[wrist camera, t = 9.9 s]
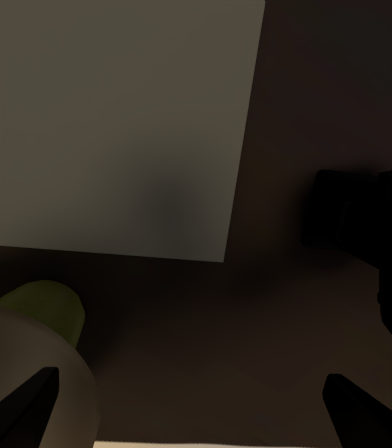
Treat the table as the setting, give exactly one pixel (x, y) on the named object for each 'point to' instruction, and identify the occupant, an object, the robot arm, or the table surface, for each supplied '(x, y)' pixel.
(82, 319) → the plant pot
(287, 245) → the table surface
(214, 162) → the mat
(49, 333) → the lid
